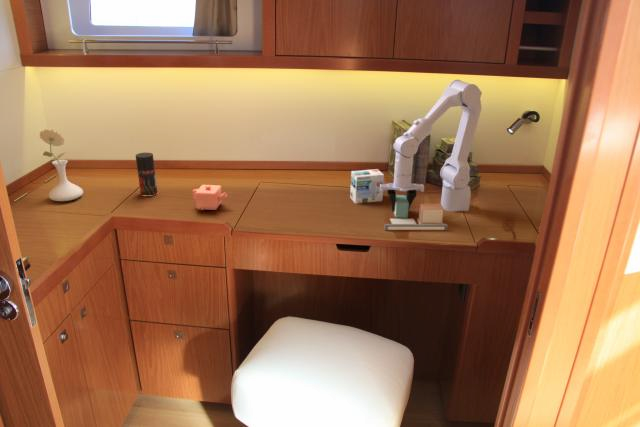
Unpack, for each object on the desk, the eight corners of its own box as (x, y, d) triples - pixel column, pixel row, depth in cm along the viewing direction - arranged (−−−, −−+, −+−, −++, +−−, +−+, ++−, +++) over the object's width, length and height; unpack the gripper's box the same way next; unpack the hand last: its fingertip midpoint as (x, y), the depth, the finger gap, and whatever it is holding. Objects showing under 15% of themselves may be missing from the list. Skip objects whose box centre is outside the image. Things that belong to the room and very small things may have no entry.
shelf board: (434, 210, 180) (435, 204, 179) (447, 232, 165) (447, 225, 164) (377, 210, 180) (378, 204, 179) (384, 232, 164) (385, 225, 163)
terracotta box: (439, 219, 172) (441, 203, 170) (442, 224, 168) (444, 208, 166) (418, 219, 172) (419, 203, 170) (420, 224, 168) (422, 208, 166)
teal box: (407, 218, 173) (408, 202, 171) (395, 218, 173) (396, 202, 170) (403, 209, 179) (405, 195, 177) (392, 209, 179) (393, 195, 177)
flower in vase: (91, 195, 189) (79, 128, 179) (65, 206, 179) (51, 136, 169) (65, 189, 194) (52, 124, 184) (38, 200, 184) (23, 131, 174)
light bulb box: (355, 205, 184) (356, 176, 180) (349, 198, 190) (350, 170, 186) (383, 202, 187) (385, 174, 182) (376, 195, 193) (378, 168, 188)
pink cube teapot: (225, 213, 176) (223, 190, 173) (191, 211, 177) (188, 189, 174) (230, 204, 183) (229, 182, 180) (197, 202, 184) (196, 181, 181)
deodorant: (158, 195, 190) (153, 156, 184) (141, 197, 188) (136, 158, 182) (156, 190, 195) (152, 151, 189) (140, 192, 193) (135, 153, 187)
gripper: (382, 176, 166) (380, 215, 172) (427, 176, 167) (423, 215, 172) (379, 169, 173) (377, 207, 178) (423, 169, 173) (419, 207, 178)
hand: (399, 210), depth 175 cm, fingers closed on teal box, 4 cm apart
